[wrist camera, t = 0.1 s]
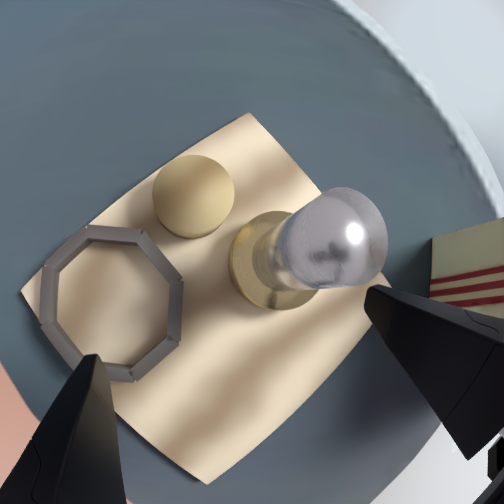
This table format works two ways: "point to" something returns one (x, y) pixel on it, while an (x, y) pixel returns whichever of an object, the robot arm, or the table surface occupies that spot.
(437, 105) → the table surface
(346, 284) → the silver round piece
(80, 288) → the board
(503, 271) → the gift box
